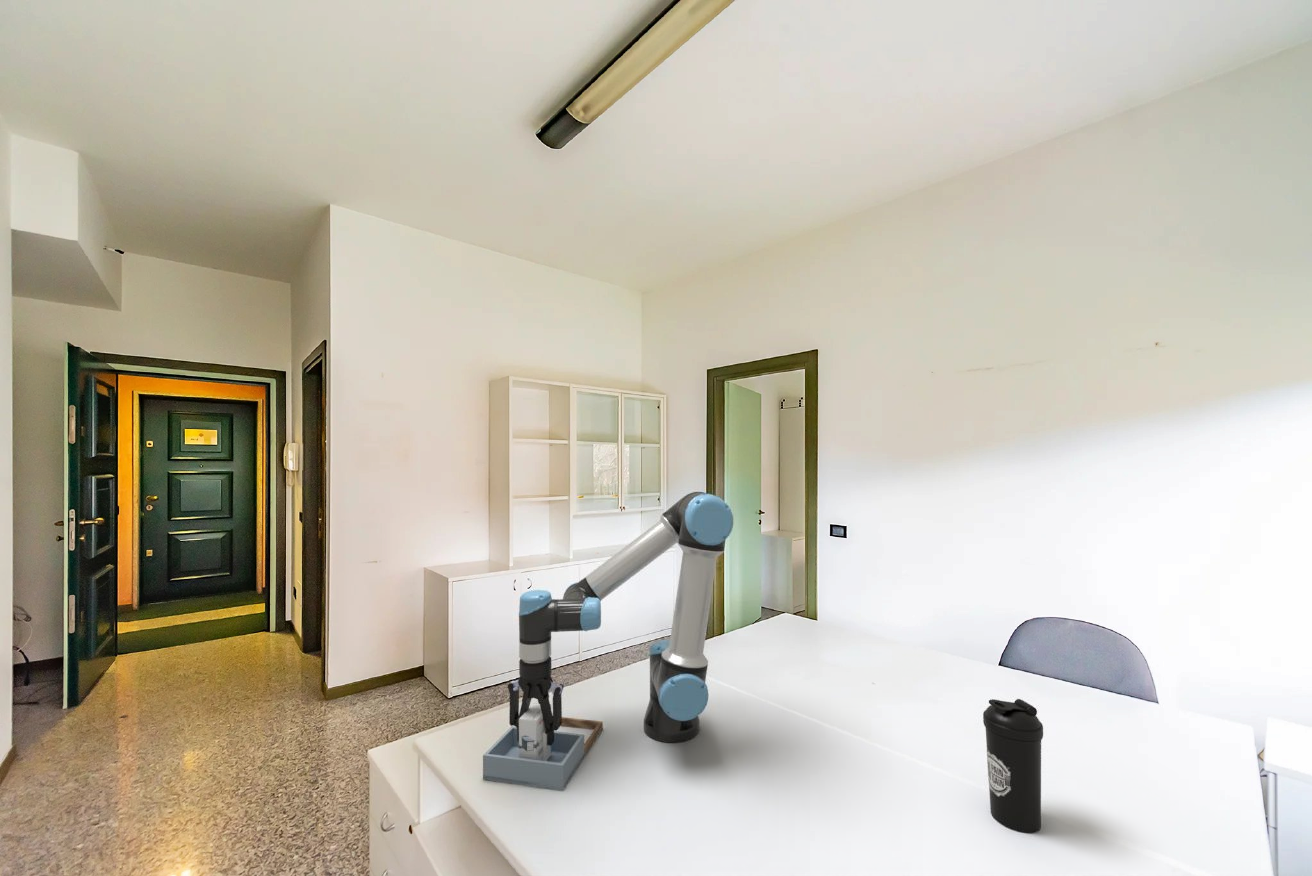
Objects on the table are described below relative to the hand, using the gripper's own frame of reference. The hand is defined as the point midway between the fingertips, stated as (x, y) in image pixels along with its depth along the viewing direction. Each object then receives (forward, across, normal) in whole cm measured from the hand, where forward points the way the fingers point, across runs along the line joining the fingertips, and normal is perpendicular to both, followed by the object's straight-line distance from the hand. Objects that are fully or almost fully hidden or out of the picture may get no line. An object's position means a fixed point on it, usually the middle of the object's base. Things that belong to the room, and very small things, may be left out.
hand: (535, 756), depth 128 cm
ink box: (+1, 0, 0) cm, 1 cm away
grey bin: (+3, 0, 0) cm, 3 cm away
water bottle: (+3, -103, -4) cm, 103 cm away
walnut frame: (+3, 0, -14) cm, 14 cm away
